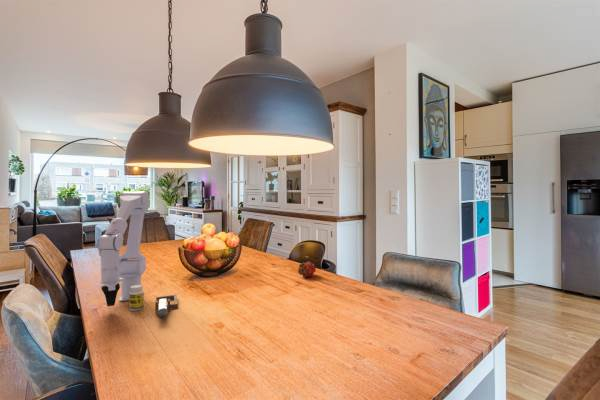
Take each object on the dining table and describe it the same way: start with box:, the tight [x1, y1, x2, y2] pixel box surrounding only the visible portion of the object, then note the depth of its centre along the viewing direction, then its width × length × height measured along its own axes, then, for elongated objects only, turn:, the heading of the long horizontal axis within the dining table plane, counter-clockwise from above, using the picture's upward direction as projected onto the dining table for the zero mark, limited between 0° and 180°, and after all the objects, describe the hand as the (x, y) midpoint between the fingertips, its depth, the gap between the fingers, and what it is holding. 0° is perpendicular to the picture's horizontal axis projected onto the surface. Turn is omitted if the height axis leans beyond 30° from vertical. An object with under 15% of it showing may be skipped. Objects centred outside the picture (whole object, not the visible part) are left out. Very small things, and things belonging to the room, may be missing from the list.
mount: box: [154, 294, 179, 315], centre depth 116 cm, size 14×8×4 cm, turn 24°
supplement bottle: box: [128, 284, 145, 312], centre depth 113 cm, size 5×5×8 cm
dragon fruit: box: [297, 261, 317, 278], centre depth 157 cm, size 8×8×12 cm
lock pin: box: [156, 298, 169, 320], centre depth 106 cm, size 13×3×3 cm, turn 24°
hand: (110, 305), depth 110 cm, fingers closed
